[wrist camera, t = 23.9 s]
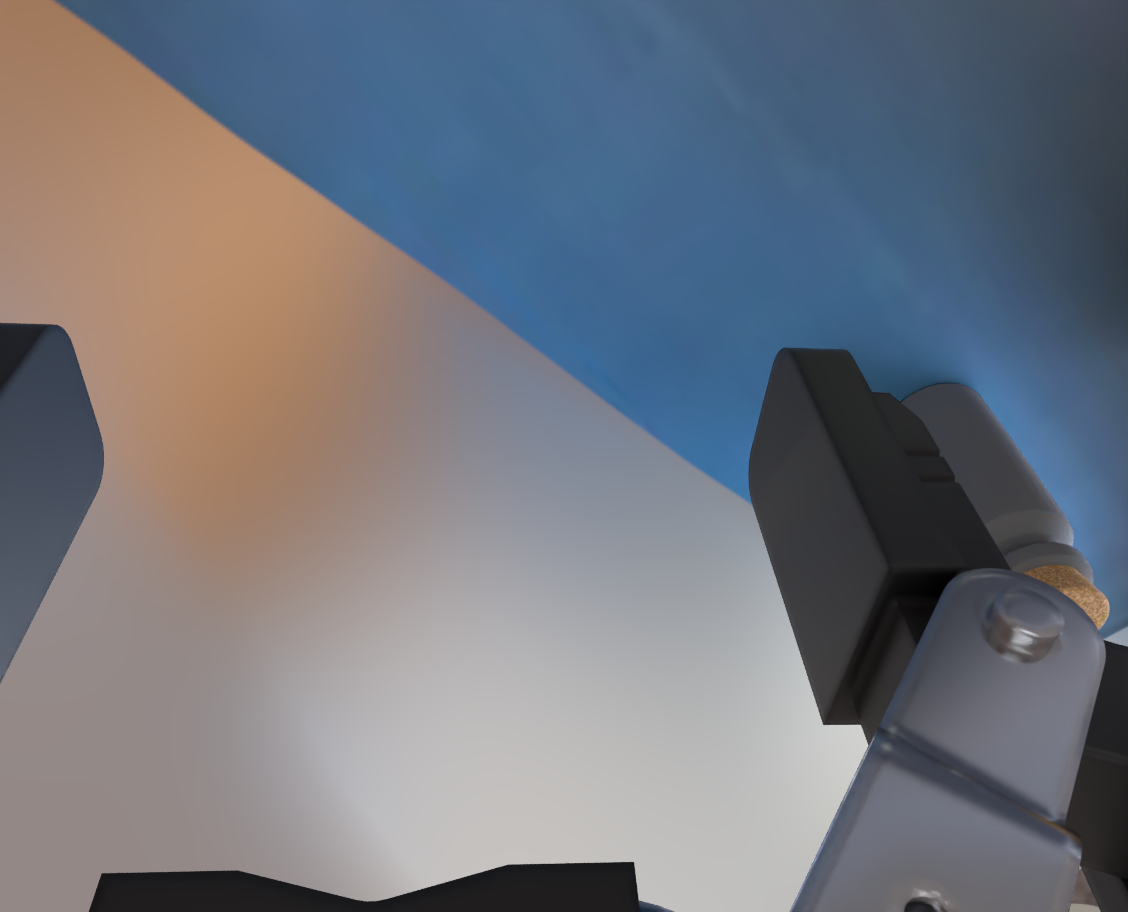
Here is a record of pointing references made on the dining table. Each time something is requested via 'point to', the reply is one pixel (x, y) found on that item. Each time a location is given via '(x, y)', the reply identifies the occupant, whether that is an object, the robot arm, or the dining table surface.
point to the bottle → (1007, 493)
